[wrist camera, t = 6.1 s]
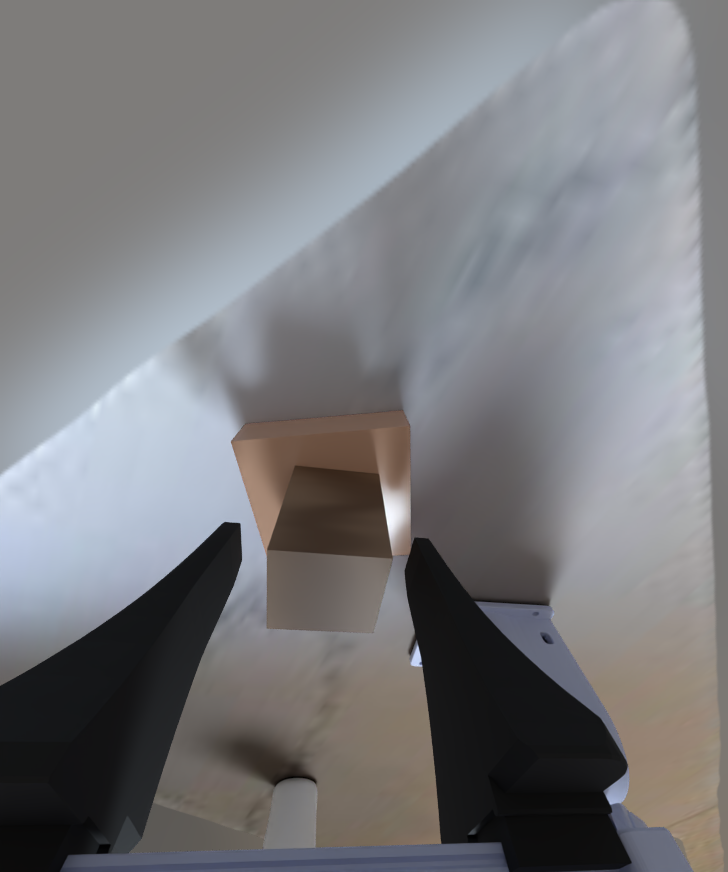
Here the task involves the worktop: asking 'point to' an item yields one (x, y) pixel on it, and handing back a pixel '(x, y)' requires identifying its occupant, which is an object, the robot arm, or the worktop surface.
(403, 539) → the terracotta tile
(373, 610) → the walnut block
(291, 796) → the drinking glass
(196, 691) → the worktop surface
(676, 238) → the worktop surface
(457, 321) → the worktop surface
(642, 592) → the worktop surface
